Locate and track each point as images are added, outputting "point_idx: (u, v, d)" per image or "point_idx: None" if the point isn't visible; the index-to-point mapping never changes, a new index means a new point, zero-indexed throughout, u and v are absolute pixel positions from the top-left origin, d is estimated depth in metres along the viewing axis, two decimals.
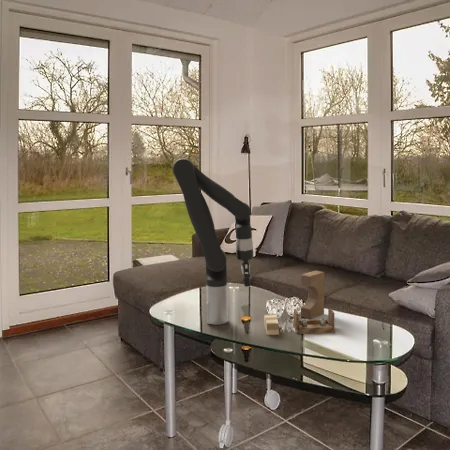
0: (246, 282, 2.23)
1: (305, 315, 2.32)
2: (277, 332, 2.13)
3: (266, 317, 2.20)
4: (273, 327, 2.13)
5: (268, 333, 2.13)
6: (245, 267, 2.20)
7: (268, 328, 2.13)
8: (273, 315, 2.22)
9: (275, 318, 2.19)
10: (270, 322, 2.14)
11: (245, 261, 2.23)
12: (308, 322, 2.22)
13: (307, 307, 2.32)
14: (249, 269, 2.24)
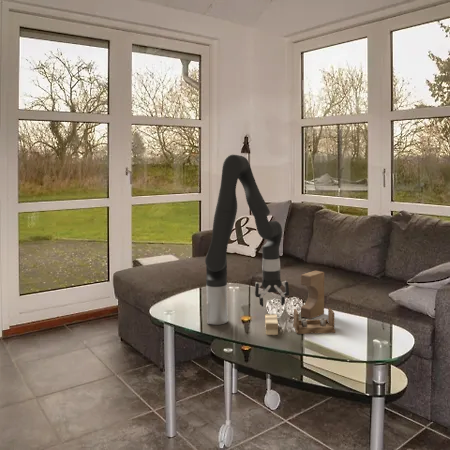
0: None
1: (305, 315, 2.32)
2: (276, 332, 2.13)
3: (266, 317, 2.20)
4: (273, 327, 2.13)
5: (267, 333, 2.13)
6: None
7: (267, 328, 2.13)
8: (274, 315, 2.22)
9: (275, 318, 2.19)
10: (270, 322, 2.14)
11: (280, 280, 2.16)
12: (308, 322, 2.22)
13: (307, 307, 2.32)
14: (279, 287, 2.19)
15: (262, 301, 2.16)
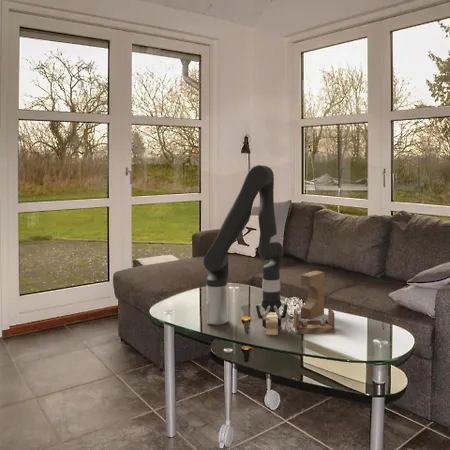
0: None
1: (305, 315, 2.32)
2: (276, 332, 2.13)
3: (267, 316, 2.21)
4: (272, 326, 2.13)
5: (267, 332, 2.13)
6: None
7: (267, 327, 2.13)
8: (275, 315, 2.22)
9: (275, 318, 2.19)
10: (270, 322, 2.14)
11: None
12: (308, 322, 2.22)
13: (307, 307, 2.32)
14: None
15: (265, 323, 2.17)
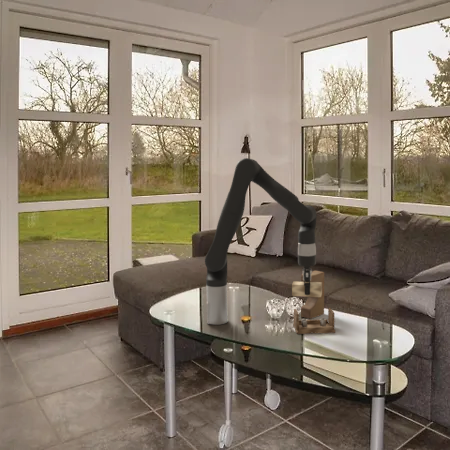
0: None
1: (305, 315, 2.32)
2: None
3: (301, 284, 2.15)
4: (321, 287, 2.15)
5: (321, 294, 2.13)
6: None
7: (321, 289, 2.13)
8: (297, 282, 2.19)
9: (306, 282, 2.18)
10: (318, 284, 2.14)
11: None
12: (308, 322, 2.22)
13: (307, 307, 2.32)
14: None
15: (309, 289, 2.13)
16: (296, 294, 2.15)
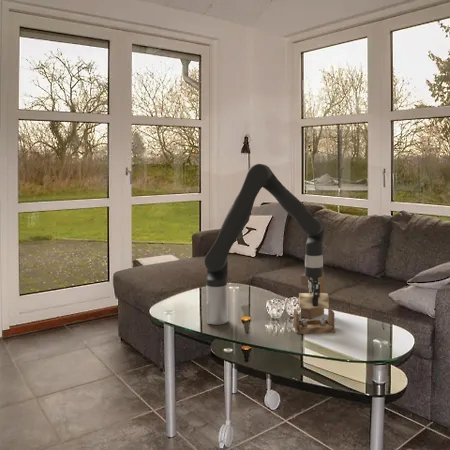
0: None
1: (305, 315, 2.32)
2: None
3: (309, 296, 2.15)
4: None
5: None
6: None
7: (328, 300, 2.14)
8: (303, 293, 2.18)
9: None
10: (325, 295, 2.15)
11: None
12: (308, 322, 2.22)
13: None
14: (309, 285, 2.19)
15: (317, 300, 2.14)
16: (304, 306, 2.15)
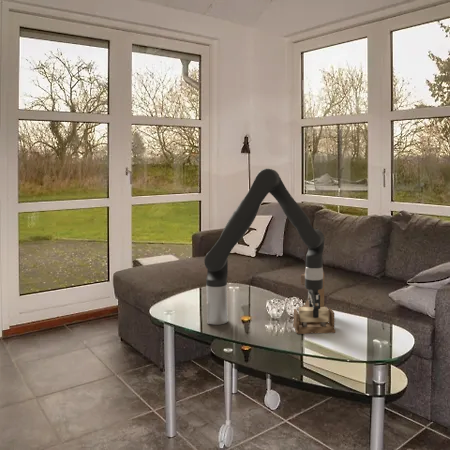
0: None
1: None
2: None
3: (309, 310, 2.15)
4: None
5: None
6: None
7: None
8: (303, 307, 2.19)
9: (312, 307, 2.19)
10: (324, 309, 2.16)
11: None
12: (308, 322, 2.22)
13: None
14: (308, 295, 2.20)
15: None
16: (304, 320, 2.16)
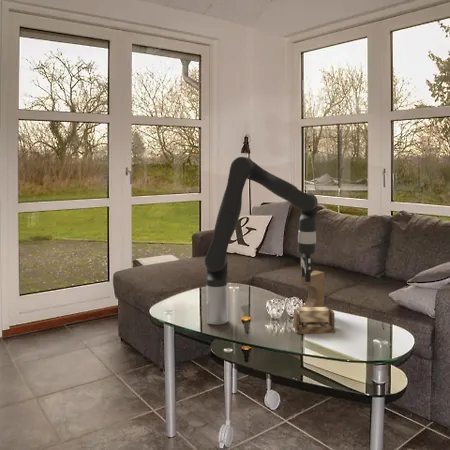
0: None
1: None
2: None
3: (309, 310, 2.15)
4: None
5: None
6: None
7: None
8: (303, 307, 2.19)
9: (312, 307, 2.19)
10: (324, 309, 2.16)
11: None
12: (308, 322, 2.22)
13: None
14: (301, 260, 2.19)
15: None
16: (304, 320, 2.16)
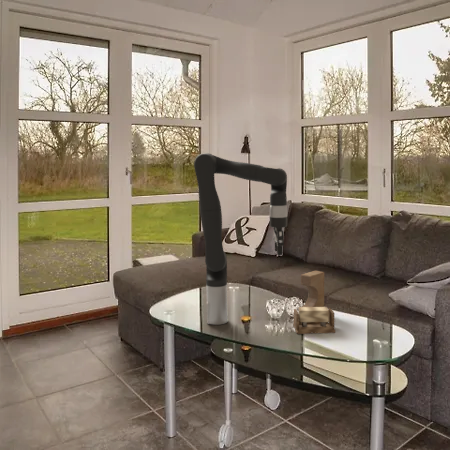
0: None
1: None
2: None
3: (309, 310, 2.15)
4: None
5: None
6: None
7: None
8: (303, 307, 2.19)
9: (312, 307, 2.19)
10: (324, 309, 2.16)
11: None
12: (308, 322, 2.22)
13: None
14: (274, 235, 2.23)
15: None
16: (304, 320, 2.16)
